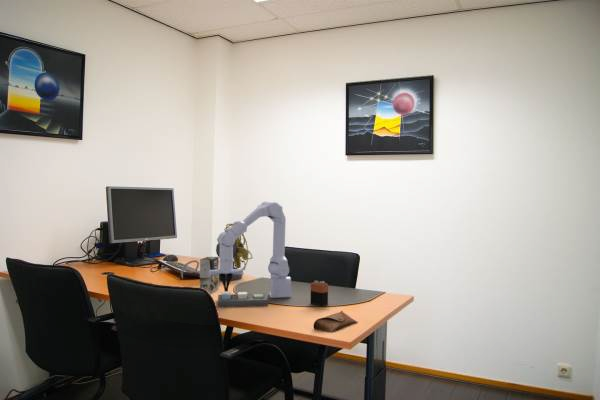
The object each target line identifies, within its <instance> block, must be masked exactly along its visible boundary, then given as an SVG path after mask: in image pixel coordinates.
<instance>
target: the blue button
mask: <svg viewBox="0 0 600 400" xmlns="http://www.w3.org/2000/svg"><path fill="white" fill-rule="evenodd" d="M231 294H232V292H221V295H222V299H231Z"/></svg>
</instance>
